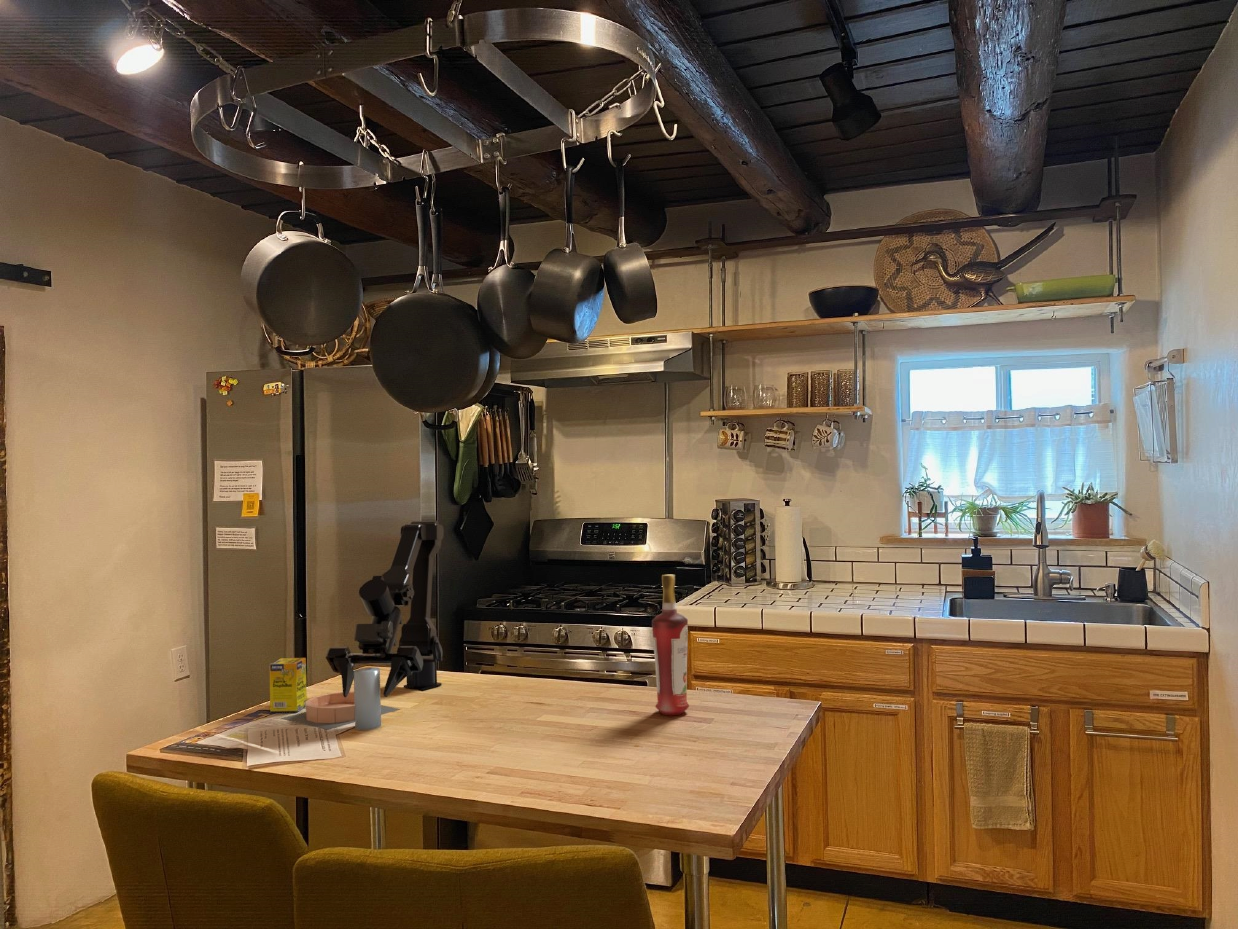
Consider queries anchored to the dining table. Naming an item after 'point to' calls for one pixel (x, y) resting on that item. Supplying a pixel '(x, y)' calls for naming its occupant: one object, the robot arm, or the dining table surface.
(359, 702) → the cylinder
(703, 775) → the dining table surface
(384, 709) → the mat
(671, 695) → the liquor
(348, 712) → the dish
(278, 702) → the supplement box
